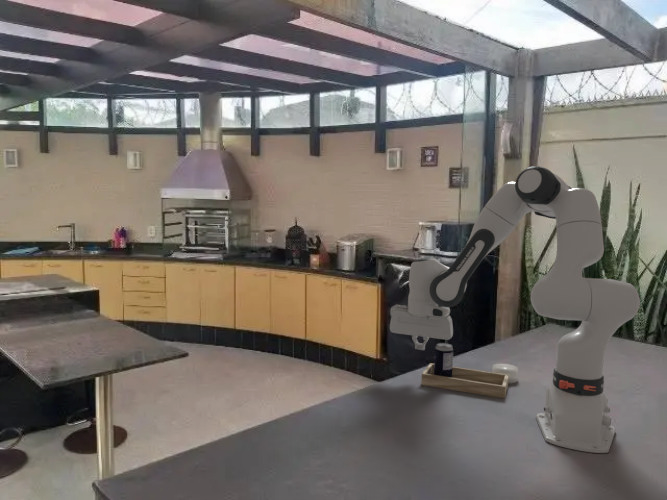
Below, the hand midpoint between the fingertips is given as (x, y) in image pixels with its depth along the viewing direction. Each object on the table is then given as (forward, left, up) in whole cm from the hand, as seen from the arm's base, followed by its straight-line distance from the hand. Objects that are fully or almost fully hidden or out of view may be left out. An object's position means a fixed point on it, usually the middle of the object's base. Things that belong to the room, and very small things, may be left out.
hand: (419, 349), depth 170 cm
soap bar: (+11, -26, -10) cm, 30 cm away
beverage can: (-1, -8, -10) cm, 12 cm away
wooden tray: (-1, -15, -9) cm, 18 cm away
